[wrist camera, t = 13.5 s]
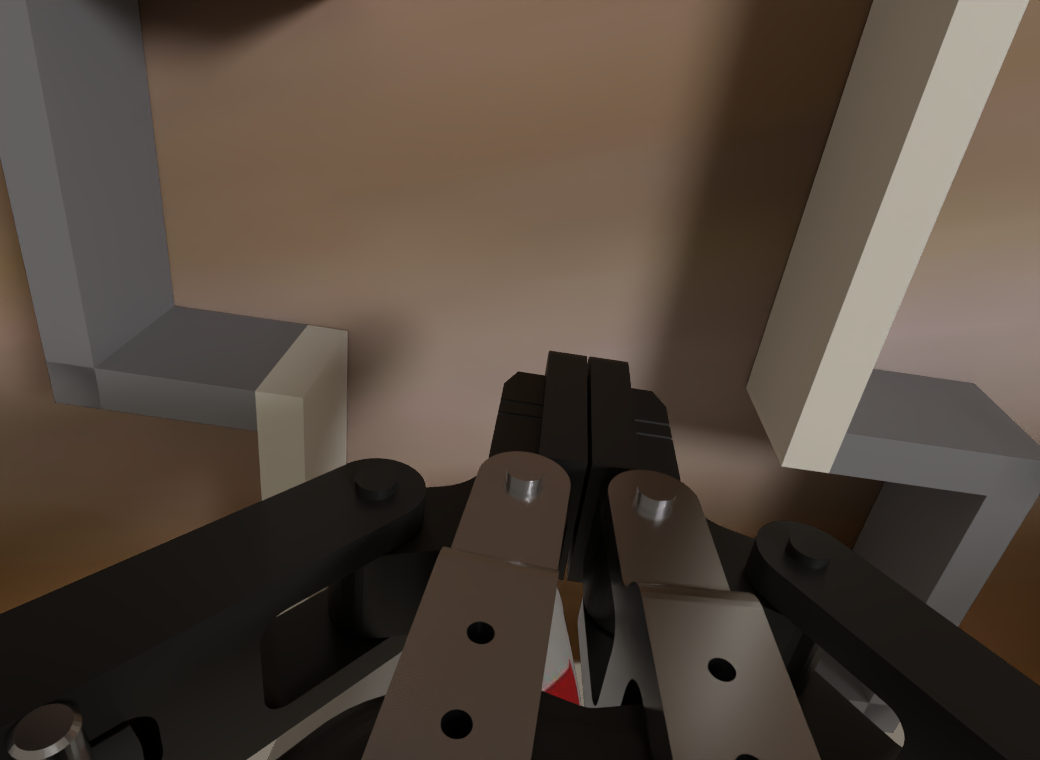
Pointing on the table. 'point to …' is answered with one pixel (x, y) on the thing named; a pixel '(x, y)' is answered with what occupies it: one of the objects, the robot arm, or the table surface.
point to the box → (324, 351)
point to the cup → (376, 684)
